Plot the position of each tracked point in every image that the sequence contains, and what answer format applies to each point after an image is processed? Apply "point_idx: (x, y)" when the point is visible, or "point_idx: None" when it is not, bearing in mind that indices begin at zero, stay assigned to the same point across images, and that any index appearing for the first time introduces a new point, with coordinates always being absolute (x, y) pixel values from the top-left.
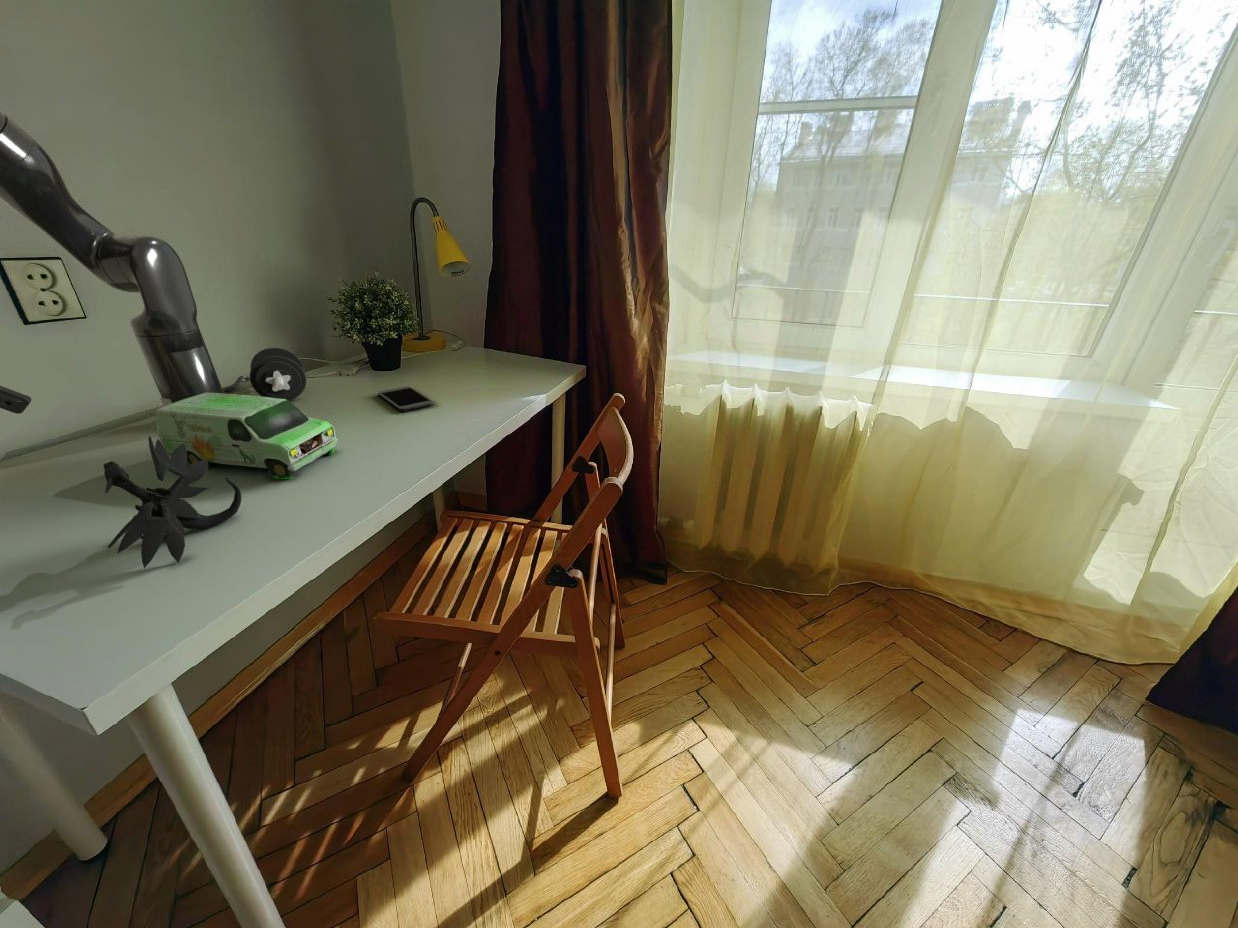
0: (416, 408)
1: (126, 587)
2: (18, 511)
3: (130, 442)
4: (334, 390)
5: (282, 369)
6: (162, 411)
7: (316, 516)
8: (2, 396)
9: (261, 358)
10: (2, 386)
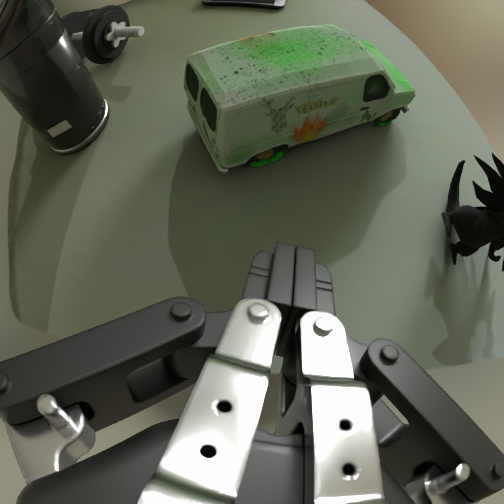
0: (285, 2)
1: (495, 289)
2: None
3: (75, 204)
4: (136, 24)
5: (114, 18)
6: (241, 106)
7: (473, 152)
8: (333, 296)
9: None
10: (270, 280)
